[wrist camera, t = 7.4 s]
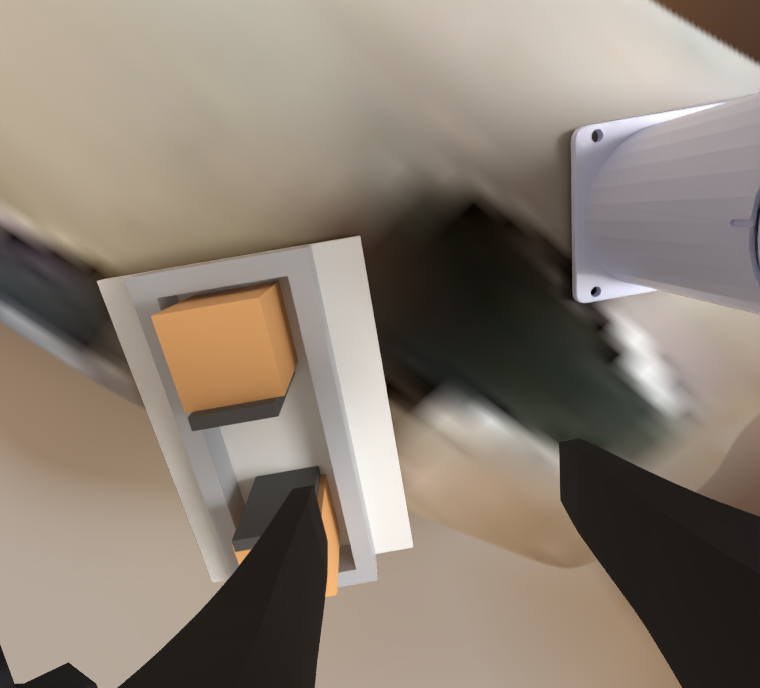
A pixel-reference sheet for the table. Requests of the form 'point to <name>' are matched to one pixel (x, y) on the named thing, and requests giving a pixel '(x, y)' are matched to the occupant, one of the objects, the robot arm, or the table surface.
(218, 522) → the grey frame base
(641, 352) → the table surface
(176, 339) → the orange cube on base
